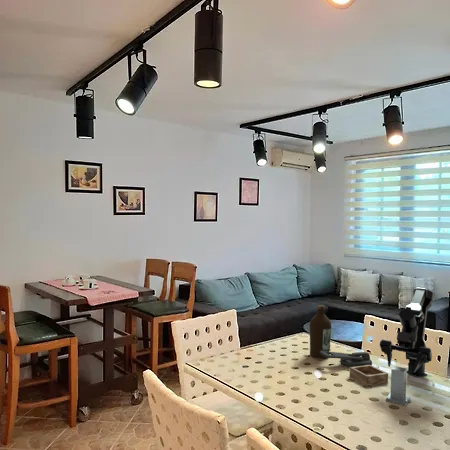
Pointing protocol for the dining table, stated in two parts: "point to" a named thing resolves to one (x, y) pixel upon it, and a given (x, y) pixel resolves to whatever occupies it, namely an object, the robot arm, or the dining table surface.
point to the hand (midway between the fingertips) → (401, 369)
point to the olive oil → (320, 334)
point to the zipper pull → (350, 358)
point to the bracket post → (398, 386)
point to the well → (368, 375)
